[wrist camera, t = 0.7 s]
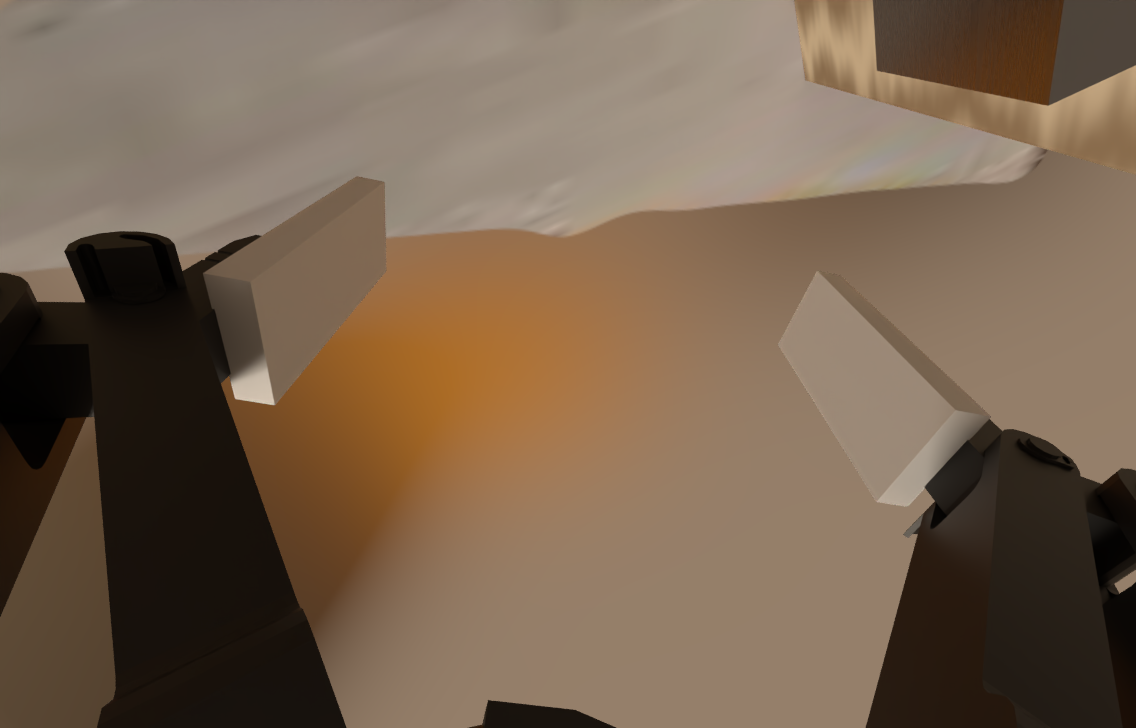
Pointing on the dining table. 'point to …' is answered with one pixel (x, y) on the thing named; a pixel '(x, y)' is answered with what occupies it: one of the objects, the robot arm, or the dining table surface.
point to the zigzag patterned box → (968, 91)
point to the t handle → (1007, 44)
